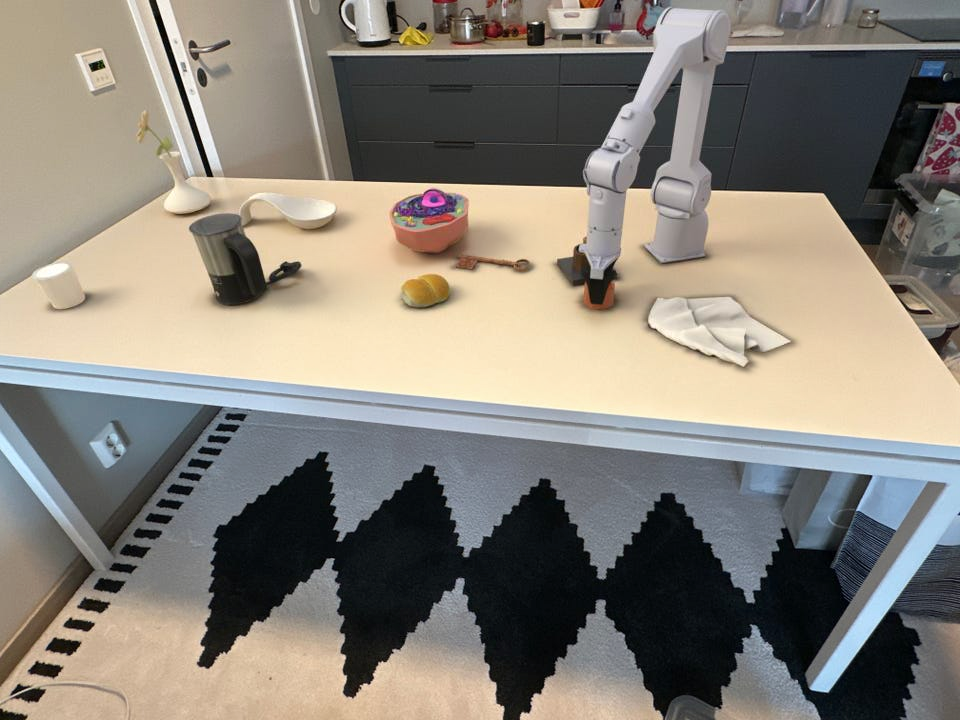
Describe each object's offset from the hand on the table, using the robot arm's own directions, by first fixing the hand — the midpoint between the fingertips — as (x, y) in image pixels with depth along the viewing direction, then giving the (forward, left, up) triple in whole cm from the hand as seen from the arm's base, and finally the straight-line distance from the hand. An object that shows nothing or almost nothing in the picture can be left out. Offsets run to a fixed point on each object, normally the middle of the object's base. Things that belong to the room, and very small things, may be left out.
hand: (598, 294), depth 104 cm
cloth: (-15, +14, -2) cm, 21 cm away
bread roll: (+30, -11, -2) cm, 32 cm away
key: (+15, -19, -1) cm, 24 cm away
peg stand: (-2, -11, -1) cm, 11 cm away
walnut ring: (-2, -11, 0) cm, 11 cm away
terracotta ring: (0, 0, -1) cm, 1 cm away
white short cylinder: (+98, -31, -2) cm, 103 cm away
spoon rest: (+56, -54, -2) cm, 78 cm away
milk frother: (+61, -25, -2) cm, 66 cm away
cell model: (+25, -32, -2) cm, 41 cm away
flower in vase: (+82, -72, -2) cm, 109 cm away
